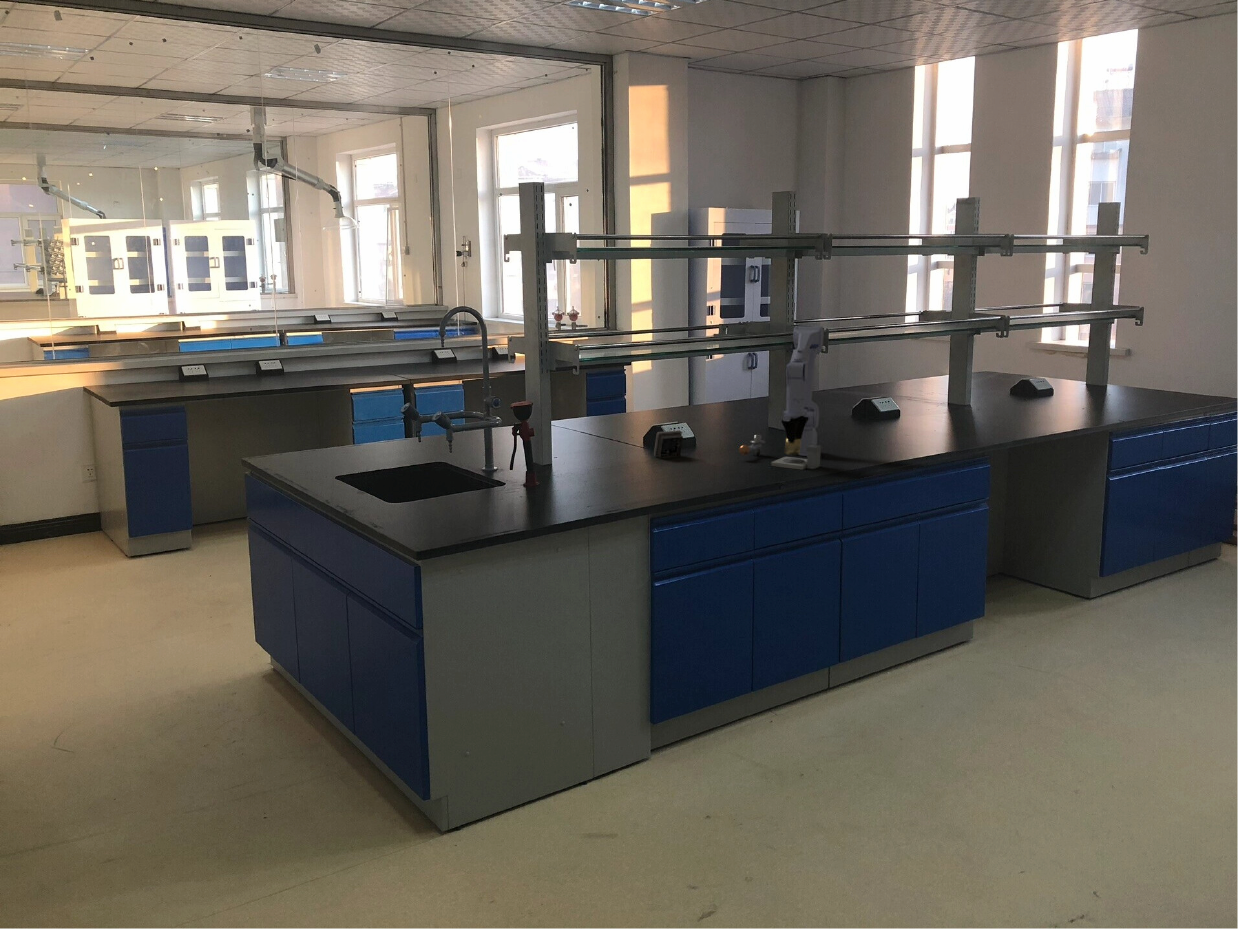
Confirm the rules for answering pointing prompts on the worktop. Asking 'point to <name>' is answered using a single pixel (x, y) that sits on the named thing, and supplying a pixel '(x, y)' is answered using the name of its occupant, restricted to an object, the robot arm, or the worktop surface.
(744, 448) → the lever
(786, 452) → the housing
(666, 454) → the electrical switch
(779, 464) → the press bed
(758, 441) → the pivot post
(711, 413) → the worktop surface
